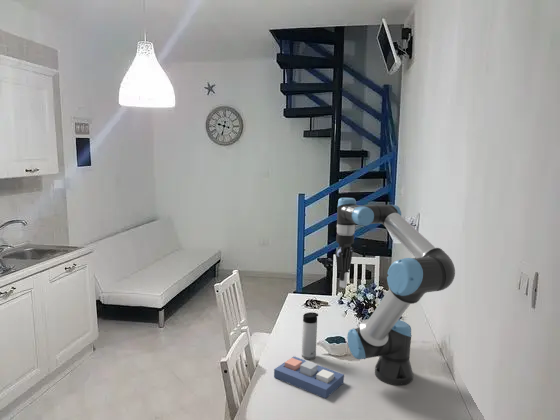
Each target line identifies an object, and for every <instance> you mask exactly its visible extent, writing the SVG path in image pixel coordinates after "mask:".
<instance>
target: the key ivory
mask: <svg viewBox="0 0 560 420" xmlns="http://www.w3.org/2000/svg"><path fill="white" fill-rule="evenodd" d="M316 379H317V380H319V381H322V382H325V383H327V384H328V383H330V382H331V381H332V380H333V379H334V373H332V372H329V371H327V370H324V369H323V370H321V371H320V372H319V373H317V374H316Z"/></svg>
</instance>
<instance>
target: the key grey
mask: <svg viewBox="0 0 560 420" xmlns="http://www.w3.org/2000/svg"><path fill="white" fill-rule="evenodd" d="M305 361H306V362H304V363H303V364H301V365H300V373H301V374H304V375H307V376H309V377H312V376H313V375H315V374H316V373H317V371H318V363H315V362H313V361H309V360H305Z"/></svg>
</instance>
